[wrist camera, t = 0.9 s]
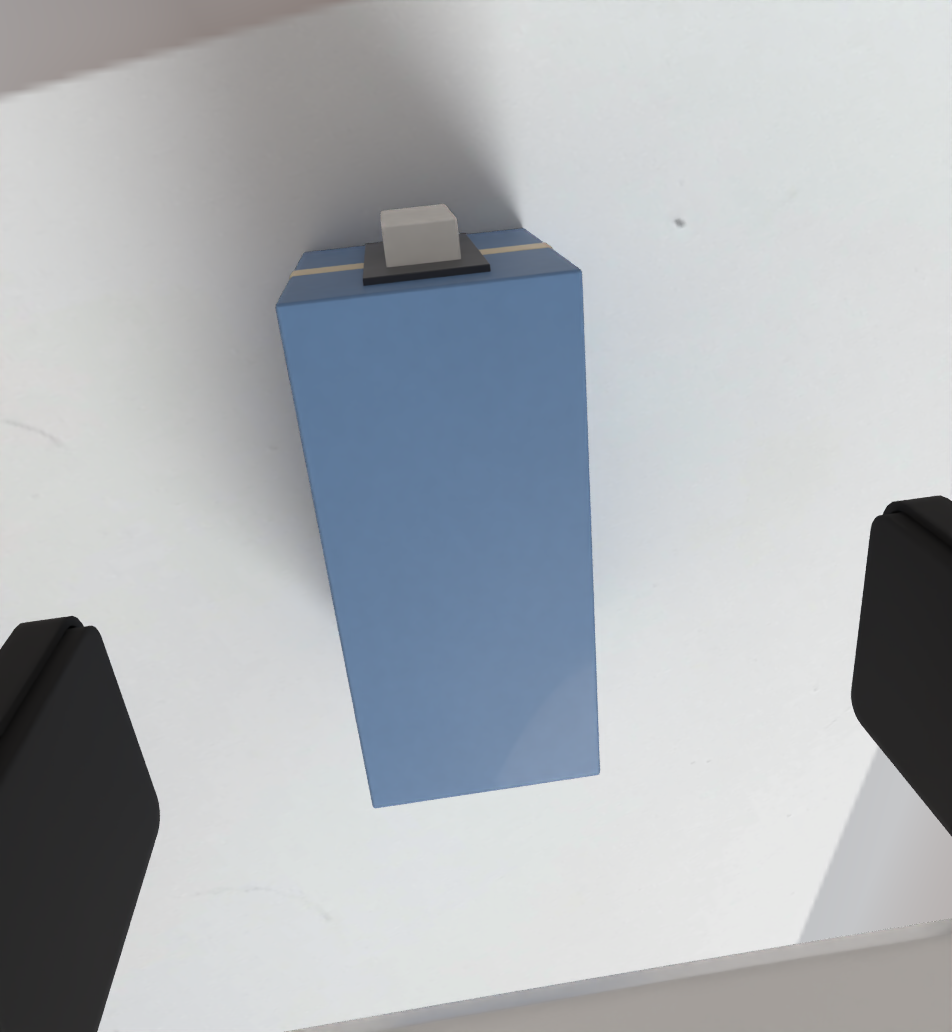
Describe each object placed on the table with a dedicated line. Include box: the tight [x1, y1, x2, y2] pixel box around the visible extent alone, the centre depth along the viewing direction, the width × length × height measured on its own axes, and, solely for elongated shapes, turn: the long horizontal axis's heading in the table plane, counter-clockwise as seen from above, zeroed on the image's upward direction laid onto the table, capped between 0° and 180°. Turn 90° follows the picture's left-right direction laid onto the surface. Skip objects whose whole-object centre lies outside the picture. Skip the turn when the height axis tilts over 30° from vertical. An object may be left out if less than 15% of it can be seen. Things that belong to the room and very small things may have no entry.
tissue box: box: [275, 204, 600, 808], centre depth 22 cm, size 14×6×7 cm, turn 5°
